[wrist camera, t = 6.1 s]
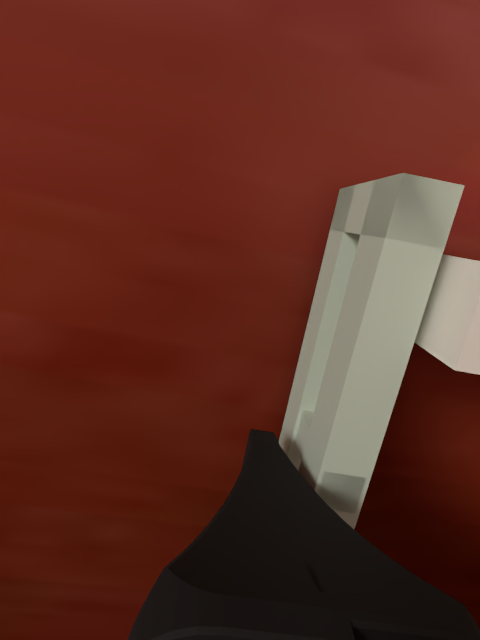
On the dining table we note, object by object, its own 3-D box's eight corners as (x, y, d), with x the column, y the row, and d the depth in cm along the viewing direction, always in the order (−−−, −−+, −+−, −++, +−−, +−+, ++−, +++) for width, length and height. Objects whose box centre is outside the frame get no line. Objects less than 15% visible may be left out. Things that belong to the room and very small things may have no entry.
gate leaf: (279, 566, 15) (297, 705, 11) (249, 562, 15) (256, 700, 11) (378, 196, 11) (464, 185, 7) (340, 188, 11) (403, 172, 7)
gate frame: (275, 602, 16) (305, 878, 10) (223, 589, 16) (216, 863, 9) (438, 255, 13) (678, 301, 6) (373, 231, 12) (545, 251, 6)
